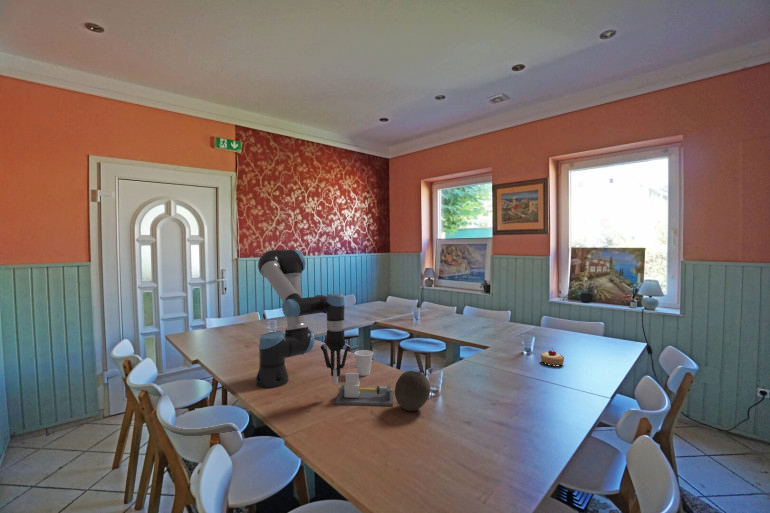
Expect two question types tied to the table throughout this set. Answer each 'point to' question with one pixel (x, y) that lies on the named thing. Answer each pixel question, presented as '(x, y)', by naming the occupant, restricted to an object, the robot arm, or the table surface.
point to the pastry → (552, 358)
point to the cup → (363, 361)
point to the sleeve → (352, 385)
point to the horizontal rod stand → (368, 396)
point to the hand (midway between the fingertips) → (335, 383)
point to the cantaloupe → (412, 390)
